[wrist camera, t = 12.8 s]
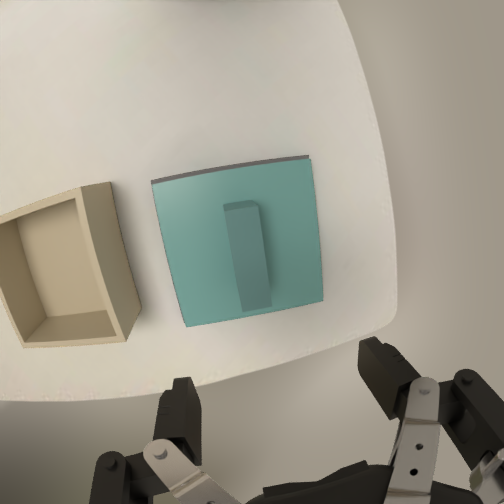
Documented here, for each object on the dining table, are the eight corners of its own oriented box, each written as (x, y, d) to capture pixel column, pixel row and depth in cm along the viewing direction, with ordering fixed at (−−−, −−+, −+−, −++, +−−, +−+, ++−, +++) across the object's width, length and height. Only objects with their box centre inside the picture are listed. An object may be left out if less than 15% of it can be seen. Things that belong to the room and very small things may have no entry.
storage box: (110, 181, 29) (80, 186, 22) (141, 307, 34) (126, 341, 27) (15, 212, 28) (-21, 225, 21) (48, 319, 33) (23, 348, 25)
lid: (304, 159, 31) (327, 157, 25) (318, 294, 36) (338, 320, 30) (155, 183, 30) (139, 188, 23) (187, 319, 35) (182, 351, 28)
